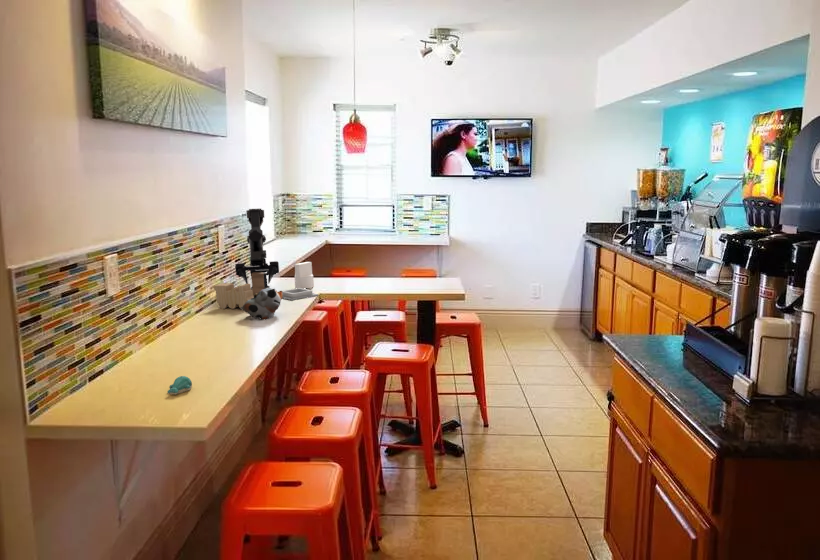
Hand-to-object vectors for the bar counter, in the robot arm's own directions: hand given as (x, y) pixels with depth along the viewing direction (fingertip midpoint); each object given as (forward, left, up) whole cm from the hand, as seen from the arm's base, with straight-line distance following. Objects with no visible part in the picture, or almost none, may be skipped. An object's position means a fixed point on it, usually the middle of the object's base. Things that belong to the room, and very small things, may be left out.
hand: (258, 283), depth 279 cm
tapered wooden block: (0, 0, -8) cm, 8 cm away
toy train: (+1, -14, -8) cm, 16 cm away
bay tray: (+7, +16, -8) cm, 19 cm away
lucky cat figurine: (+24, -21, -8) cm, 33 cm away
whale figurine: (+70, -93, -8) cm, 117 cm away
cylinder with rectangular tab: (-5, +34, -8) cm, 35 cm away
